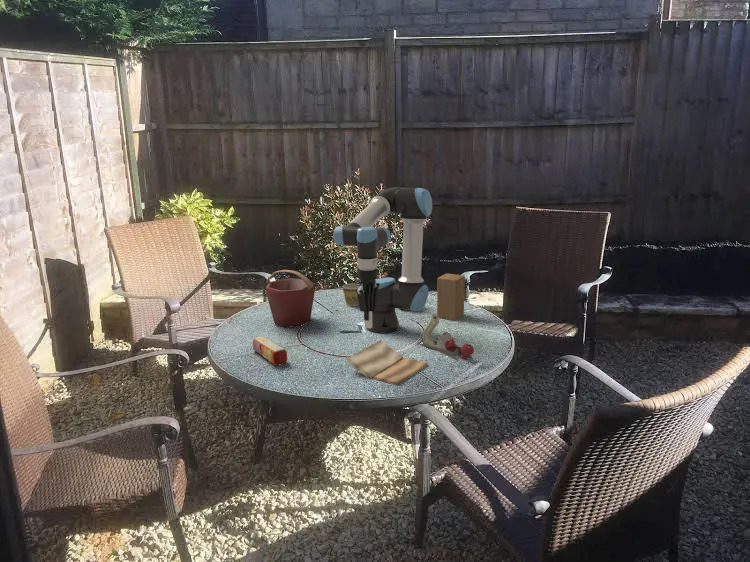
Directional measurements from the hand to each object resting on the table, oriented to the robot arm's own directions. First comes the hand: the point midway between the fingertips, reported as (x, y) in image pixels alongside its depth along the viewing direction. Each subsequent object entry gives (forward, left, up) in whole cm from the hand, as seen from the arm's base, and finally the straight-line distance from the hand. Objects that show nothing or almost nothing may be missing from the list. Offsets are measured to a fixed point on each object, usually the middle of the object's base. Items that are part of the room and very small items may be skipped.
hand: (368, 327), depth 245 cm
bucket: (-63, +26, -17) cm, 69 cm away
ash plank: (+3, 0, -14) cm, 14 cm away
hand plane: (+19, +29, -17) cm, 38 cm away
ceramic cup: (-54, +64, -17) cm, 85 cm away
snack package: (-40, -14, -17) cm, 46 cm away
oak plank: (+15, 0, -16) cm, 22 cm away
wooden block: (-2, +72, -17) cm, 74 cm away
